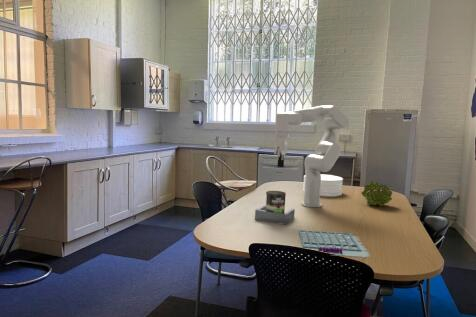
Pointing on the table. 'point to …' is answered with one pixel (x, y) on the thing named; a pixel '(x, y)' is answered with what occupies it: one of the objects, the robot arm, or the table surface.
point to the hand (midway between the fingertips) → (280, 166)
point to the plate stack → (329, 185)
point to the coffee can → (275, 201)
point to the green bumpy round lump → (377, 194)
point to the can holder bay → (274, 215)
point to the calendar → (333, 243)
